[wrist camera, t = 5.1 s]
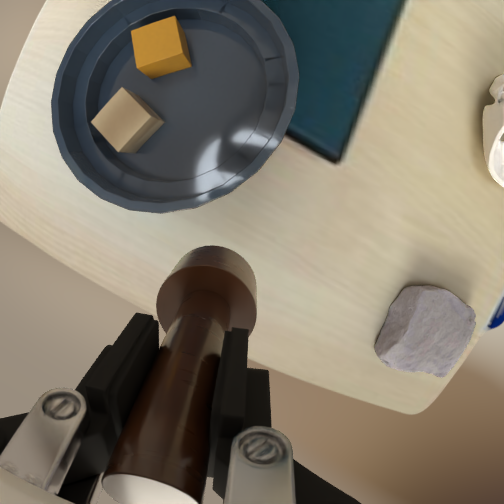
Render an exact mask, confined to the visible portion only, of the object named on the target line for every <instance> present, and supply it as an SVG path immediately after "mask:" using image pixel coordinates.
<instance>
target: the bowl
mask: <svg viewBox="0 0 504 504" xmlns="http://www.w3.org/2000/svg"><path fill="white" fill-rule="evenodd" d="M172 16H175V17H176V18H177V20H178V22H179V24H180V25H181V27H182V29H183V31H184V32H185V37H186V41H187V46H188V50H189V55H190V60H191V64H192V67H189V68H185V69H182V70H179V71H175V72H172V73H169V74H166V75H163V76H160V77H157V78H154V79H150V78H149V77H148V76H147V75H145V74H144V73H143V72H141V71H140V70H139V69H137V66H136V60H135V54H134V48H133V42H132V35H131V31H132V30H135V29H137V28H140V27H143V26H145V25H148V24H151V23H154V22H157V21H160V20H163V19H166V18H169V17H172ZM298 83H299V71H298V65H297V60H296V54H295V49H294V45H293V42H292V40H291V39H290V37H289V35H288V33H287V31H286V29H285V27H284V26H283V24H282V22H281V20H280V18H278V16H277V15H276V14H275V13H274V12H273V11H272V10H271V9H270V8H269V7H268V6H267V5H265V4H264V3H263V2H262V1H261V0H112V1H110V2H109V3H108V4H106V5H105V6H104V7H103V8H102V9H100V10H99V11H98V12H97V13H96V14H95V15H93V16H92V17H91V18H90V19H89V20H88V22H86V23H85V25H84V26H83V27H82V29H81V30H80V31H79V33H78V34H77V35H76V37H75V38H74V39H73V41H72V42H71V43H70V45H69V47H68V49H67V51H66V53H65V55H64V57H63V60H62V62H61V64H60V66H59V69H58V71H57V74H56V78H55V83H54V89H53V94H52V100H51V108H52V124H53V132H54V135H55V138H56V141H57V144H58V147H59V150H60V153H61V156H62V158H63V159H64V161H65V162H66V164H67V165H68V167H69V168H70V170H71V171H72V172H73V174H74V175H75V177H76V178H77V180H79V182H81V183H82V184H83V185H84V186H86V187H87V188H88V189H89V190H91V191H92V192H93V193H94V194H96V195H97V196H98V197H99V198H101V199H103V200H105V201H108V202H110V203H113V204H115V205H118V206H120V207H123V208H125V209H128V210H132V211H142V212H151V213H160V214H161V213H168V212H174V211H180V210H187V209H193V208H197V207H199V206H202V205H204V204H206V203H208V202H211V201H213V200H215V199H218V198H220V197H222V196H225V195H227V194H228V193H230V192H232V191H233V190H234V189H236V188H237V187H238V186H239V185H241V184H242V183H243V182H245V181H246V180H247V179H249V178H250V177H251V176H252V175H254V174H255V173H256V172H258V170H260V168H261V167H262V166H263V164H264V163H265V162H266V161H267V159H268V158H269V157H270V156H271V154H272V153H273V152H274V151H275V149H276V148H277V147H278V146H279V144H280V143H281V141H282V139H283V137H284V134H285V132H286V130H287V128H288V125H289V123H290V121H291V118H292V116H293V114H294V111H295V107H296V99H297V91H298ZM121 87H123V88H125V89H127V90H129V91H131V92H133V93H135V94H136V95H138V96H139V97H140V98H141V99H142V100H143V101H144V102H145V103H146V104H147V105H148V106H149V107H150V108H151V109H152V110H153V111H154V112H155V113H156V114H157V115H158V116H159V117H160V118H161V119H162V120H163V121H164V124H163V125H162V126H161V127H160V128H159V129H158V130H157V131H156V132H155V133H154V134H153V135H152V136H151V137H150V138H149V139H148V140H147V141H146V142H145V143H144V144H143V145H142V146H141V148H140V149H139V150H138V151H137V152H136V153H125V152H118V151H117V150H116V149H115V148H114V147H113V146H112V145H111V144H110V143H109V142H108V141H107V139H106V138H105V137H104V136H103V135H102V134H101V133H100V132H99V131H98V130H97V128H96V127H95V126H94V125H93V124H92V123H91V121H92V120H93V119H94V118H95V117H96V115H97V114H98V113H99V112H100V111H101V110H102V108H103V107H104V106H105V105H106V104H107V103H108V102H109V101H110V99H111V98H112V97H113V96H114V95H115V94H116V93H117V92H118V91H119V90H120V89H121Z"/></svg>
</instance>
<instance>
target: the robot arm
mask: <svg viewBox="0 0 504 504" xmlns="http://www.w3.org/2000/svg"><path fill="white" fill-rule="evenodd" d="M248 332H249V329H243V328H235V327H232V331H225V334H224V339H223V345H222V351H221V356H220V362H219V368H218V374H217V379H216V385H215V391H214V397H213V403H212V410H211V418H210V432H209V448H210V457H209V464H208V471H207V477H213V478H214V479H213V490H214V491H215V492H216V493H217V494H218V495H219V496H220V497H221V498H222V499H223V504H361V503H360V502H358V501H357V500H356V499H354V498H352V497H351V496H349V495H347V494H345V493H344V492H342V491H341V490H339V489H338V488H336V487H334V486H333V485H331V484H330V483H328V482H326V481H325V480H323V479H322V478H320V477H319V476H317V475H316V474H314V473H313V472H311V471H309V470H308V469H307V468H305V467H304V466H302V465H301V464H299V463H298V462H297V461H295V460H294V459H293V451H292V446H291V442H290V441H289V439H288V438H287V437H286V436H285V435H284V434H283V433H281V432H280V431H278V430H275V429H273V428H271V408H270V387H269V371H268V370H263V369H253V368H247V354H248ZM158 350H159V323H158V321H157V320H154V319H153V316H152V315H147V314H141V313H136V314H135V315H134V316H133V317H132V319H131V320H130V322H129V323H128V324H127V326H126V327H125V329H124V330H123V331H122V333H121V334H120V336H119V337H118V339H117V340H116V341H115V343H114V344H113V345H107V346H106V347H105V348H104V349H103V351H102V352H101V354H100V355H99V356H98V358H97V359H96V361H95V362H94V363H93V365H92V366H91V368H90V369H89V370H88V372H87V373H86V375H85V376H84V377H83V379H82V380H81V382H80V383H79V385H78V386H77V388H76V389H75V390H73V389H69V388H55V389H51V390H49V391H47V392H45V393H44V394H43V395H42V396H41V397H40V398H39V399H38V401H37V402H36V404H35V405H34V406H33V408H32V409H31V411H30V412H28V413H24V414H20V415H15V416H10V417H5V418H0V504H97V503H98V500H99V497H100V494H101V491H102V488H103V486H102V483H101V479H102V476H103V474H104V471H105V469H106V466H107V464H108V462H109V459H110V457H111V455H112V452H113V450H114V447H115V445H116V443H117V441H118V438H119V436H120V434H121V431H122V429H123V427H124V425H125V422H126V420H127V418H128V416H129V413H130V411H131V409H132V407H133V404H134V402H135V400H136V398H137V396H138V393H139V391H140V389H141V387H142V385H143V382H144V380H145V378H146V376H147V374H148V372H149V370H150V367H151V365H152V363H153V361H154V359H155V357H156V355H157V353H158Z"/></svg>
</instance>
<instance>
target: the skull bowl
mask: <svg viewBox="0 0 504 504" xmlns="http://www.w3.org/2000/svg"><path fill="white" fill-rule="evenodd" d="M489 92H490V94H491V95H492V96H493V97H494V99H495V103H494V104H492V105H486V106H485V108H484V111H483V148H484V157H485V161H486V165H487V168H488V170H489V172H490V174H491V176H492V177H493V178H494V180H495V181H496V182H497V183H499V184H500V185H501V186H502V187H504V141H503V142H501V141H500V138H501V136H502V135H503V133H504V74H502V75H500V76H498V77H496V78H495V80H494V82H493V84H492V85H491V87H490V89H489Z"/></svg>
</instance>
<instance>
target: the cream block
mask: <svg viewBox="0 0 504 504" xmlns="http://www.w3.org/2000/svg"><path fill="white" fill-rule="evenodd" d="M91 123H92V124H93V125H94V126H95V127H96V128H97V130H98V131H99V132H100V133H101V134H102V135H103V136H104V137H105V138H106V139H107V141H108V142H109V143H110V144H111V145H112V146H113V147H114V148H115V149H116V150H117V151H118V152H125V153H136V152H137V151H138V150H139V149H140V148H141V146H142V145H143V144H144V143H145V142H146V141H147V140H148V139H149V138H150V137H151V136H152V135H153V134H154V133H155V132H156V131H157V130H158V129H159V128H160V127H161V126H162V125H163V124H164V121H163V120H162V119H161V118H160V117H159V116H158V115H157V114H156V113H155V112H154V111H153V110H152V109H151V108H150V107H149V106H148V105H147V104H146V103H145V102H144V101H143V100H142V99H141V98H140V97H139V96H138V95H136V94H135V93H133V92H131V91H129V90H127V89H125V88H123V87H121V89H120V90H119V91H118V92H117V93H116V94H115V95H114V96H113V97H112V98H111V99H110V101H109V102H108V103H107V104H106V105H105V106H104V107H103V108H102V110H101V111H100V112H99V113H98V114H97V115H96V117H95V118H94V119H93V120H92V121H91Z"/></svg>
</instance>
